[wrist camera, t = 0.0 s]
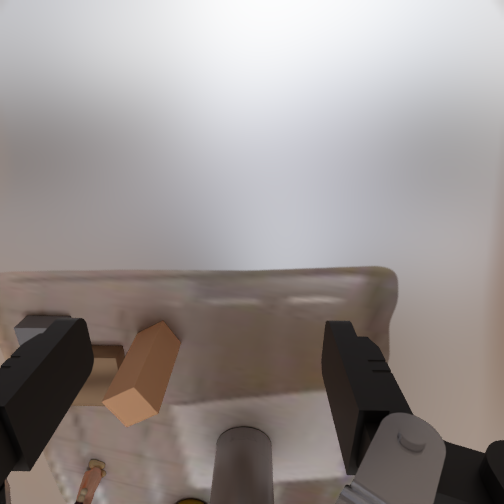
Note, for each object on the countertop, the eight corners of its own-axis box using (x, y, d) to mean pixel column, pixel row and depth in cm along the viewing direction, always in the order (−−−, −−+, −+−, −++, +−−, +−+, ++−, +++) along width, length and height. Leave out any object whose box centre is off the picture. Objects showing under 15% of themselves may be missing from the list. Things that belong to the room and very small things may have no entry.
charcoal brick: (75, 333, 47) (64, 346, 45) (33, 332, 47) (20, 346, 45) (71, 315, 46) (59, 328, 43) (28, 314, 46) (13, 327, 44)
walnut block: (131, 390, 52) (124, 406, 49) (74, 389, 52) (64, 405, 49) (123, 344, 48) (115, 358, 46) (62, 343, 48) (50, 357, 46)
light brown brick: (181, 342, 48) (158, 413, 37) (156, 354, 49) (126, 427, 38) (163, 320, 46) (133, 387, 35) (137, 333, 47) (101, 401, 36)
